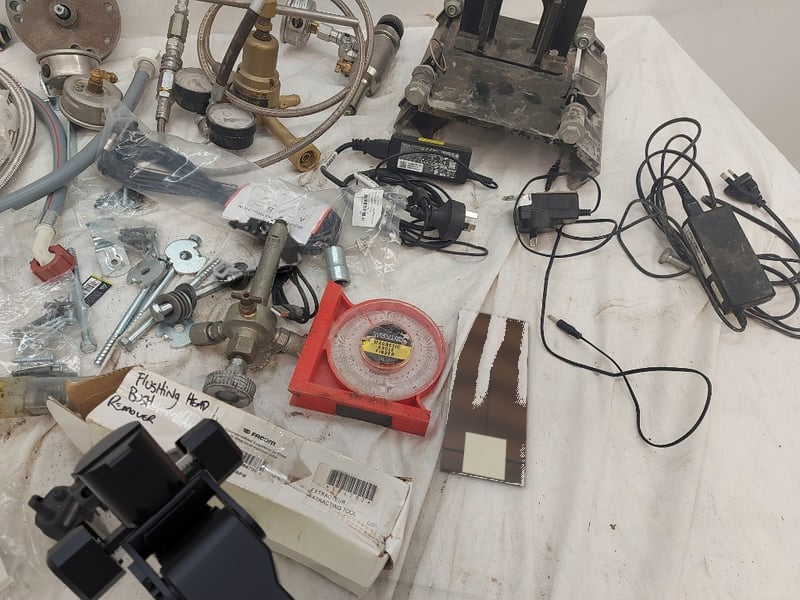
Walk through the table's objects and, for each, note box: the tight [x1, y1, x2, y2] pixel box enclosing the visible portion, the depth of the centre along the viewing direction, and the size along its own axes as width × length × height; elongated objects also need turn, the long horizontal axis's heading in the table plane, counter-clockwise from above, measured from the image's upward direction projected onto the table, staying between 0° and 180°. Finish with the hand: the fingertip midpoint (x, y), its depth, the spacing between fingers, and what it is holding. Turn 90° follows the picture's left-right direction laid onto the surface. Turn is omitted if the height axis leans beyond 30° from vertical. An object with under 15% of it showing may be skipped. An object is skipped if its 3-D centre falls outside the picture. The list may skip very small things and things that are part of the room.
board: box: [439, 311, 528, 484], centre depth 90 cm, size 28×12×1 cm, turn 171°
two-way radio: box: [27, 485, 100, 543], centre depth 66 cm, size 6×4×15 cm
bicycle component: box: [212, 216, 302, 283], centre depth 98 cm, size 12×7×15 cm
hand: (133, 485), depth 64 cm, fingers open, 9 cm apart
